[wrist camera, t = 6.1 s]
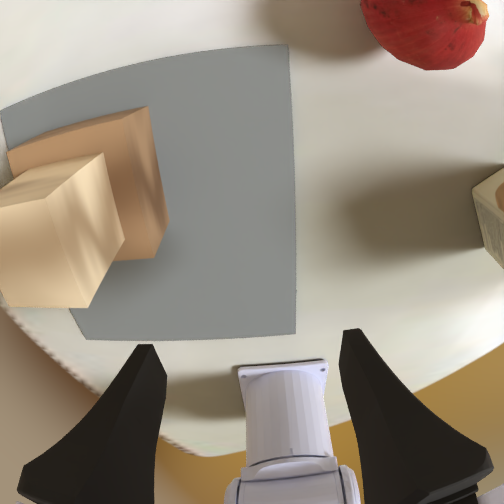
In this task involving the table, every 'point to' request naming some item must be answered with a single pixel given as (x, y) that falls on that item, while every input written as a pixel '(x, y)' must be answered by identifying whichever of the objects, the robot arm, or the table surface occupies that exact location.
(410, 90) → the table surface
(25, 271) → the birch block
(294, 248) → the mat
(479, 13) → the onion
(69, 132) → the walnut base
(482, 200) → the skincare box
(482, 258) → the table surface
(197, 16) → the table surface
